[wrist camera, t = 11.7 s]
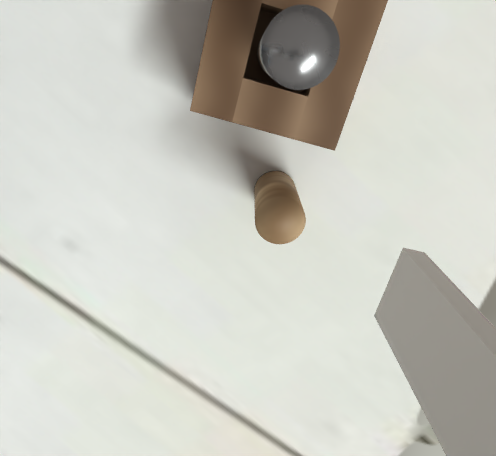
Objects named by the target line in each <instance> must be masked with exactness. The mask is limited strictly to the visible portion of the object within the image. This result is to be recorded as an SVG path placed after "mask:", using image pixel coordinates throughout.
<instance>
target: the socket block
mask: <svg viewBox="0 0 496 456" xmlns="http://www.w3.org/2000/svg"><path fill="white" fill-rule="evenodd" d="M387 1H388V0H213V2H212V7H211V12H210V17H209V21H208V26H207V31H206V36H205V41H204V46H203V51H202V55H201V60H200V65H199V70H198V75H197V80H196V84H195V89H194V94H193V99H192V104H191V109H190V111H193V112H197V113H200V114H204V115H208V116H211V117H215V118H219V119H222V120H226V121H229V122H233V123H237V124H240V125H244V126H248V127H251V128H255V129H258V130H262V131H266V132H269V133H273V134H277V135H280V136H284V137H287V138H291V139H295V140H298V141H302V142H306V143H309V144H313V145H316V146H320V147H324V148H327V149H331V150H335V148H336V146H337V143H338V140H339V137H340V134H341V131H342V129H343V126H344V123H345V120H346V117H347V115H348V112H349V109H350V106H351V103H352V100H353V98H354V95H355V92H356V89H357V86H358V83H359V81H360V78H361V75H362V72H363V69H364V66H365V64H366V61H367V58H368V55H369V52H370V50H371V47H372V44H373V41H374V38H375V35H376V33H377V30H378V27H379V24H380V21H381V18H382V16H383V13H384V10H385V7H386V4H387ZM302 4H304V5H311V6H314V7H317V8H319V9H321V10H322V11H324V12H325V13H326V14H327V15H328V16H329V17H330V18H331V19H332V21H333V22H334V24H335V26H336V28H337V31H338V34H339V40H340V50H339V56H338V60H337V62H336V65H335V67H334V69H333V70H332V72H331V73H330V75H329V76H328V77H327V78H326V79H325V80H324V81H322V82H321V83H320V84H318V85H316V86H314V87H312V88H309V89H304V90H294V89H289V88H286V87H284V86H282V85H280V84H279V83H277V82H276V81H275V80H274V79H272V78H271V77H270V76H269V75H268V74H267V73H266V72H264V70H263V69H262V68H261V66H260V64H259V62H258V58H257V48H258V44H259V41H260V39H261V37H262V36H263V34H264V32H265V30H266V29H267V27H268V25H269V24H270V22H271V21H272V19H273V18H274V17H275V16H276V15H277V14H278V13H280V12H281V11H282V10H284V9H286V8H288V7H291V6H295V5H302Z"/></svg>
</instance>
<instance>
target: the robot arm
mask: <svg viewBox="0 0 496 456" xmlns="http://www.w3.org/2000/svg"><path fill="white" fill-rule="evenodd" d="M374 316H375V318H376V320H377V322H378V324H379V326H380V328H381V330H382V332H383V334H384V336H385V338H386V340H387V341H388V343H389V345H390V347H391V349H392V351H393V353H394V355H395V357H396V359H397V361H398V363H399V365H400V367H401V369H402V371H403V373H404V375H405V376H406V378H407V380H408V382H409V384H410V386H411V388H412V390H413V392H414V394H415V396H416V398H417V400H418V402H419V404H420V406H421V408H422V410H423V411H424V413H425V415H426V417H427V419H428V421H429V423H430V425H431V427H432V429H433V431H434V433H435V435H436V437H437V439H438V441H439V443H440V444H441V446H442V448H443V450H444V452H445V454H446V456H496V328H495V327H494V326H493V325H492V324H491V322H490V321H489V320H488V319H487V318H486V317H485V316H484V315H483V314H482V313H481V312H480V311H479V310H478V309H477V308H476V307H475V306H474V304H473V303H472V302H471V301H470V300H469V299H468V298H467V297H466V296H465V295H464V294H463V293H462V292H461V291H460V290H459V289H458V288H457V286H456V285H455V284H454V283H453V282H452V281H451V280H450V279H449V278H448V277H447V276H446V275H445V274H444V273H443V272H442V271H441V270H440V268H439V267H438V266H437V265H436V264H435V263H434V262H433V261H432V260H431V259H430V258H429V257H428V256H427V255H426V254H425V253H424V252H420V251H415V250H411V249H406V248H403V249H402V251H401V254H400V256H399V259H398V261H397V263H396V266H395V268H394V270H393V273H392V275H391V277H390V280H389V282H388V284H387V287H386V289H385V292H384V294H383V296H382V299H381V301H380V303H379V306H378V308H377V310H376V313H375V315H374Z"/></svg>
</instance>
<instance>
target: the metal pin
mask: <svg viewBox="0 0 496 456" xmlns="http://www.w3.org/2000/svg"><path fill="white" fill-rule="evenodd" d="M339 50H340V40H339V34H338V31H337V28H336V26H335V24H334V22H333V21H332V19H331V18H330V17H329V16H328V15H327V14H326V13H325V12H324V11H322V10H321V9H319V8H317V7H314V6H311V5H304V4H302V5H295V6H291V7H288V8H286V9H284V10H282V11H281V12H280V13H278V14H277V15H276V16H275V17H274V18H273V19H272V21H271V22H270V24H269V25H268V27H267V29H266V30H265V32H264V34H263V36H262V37H261V39H260V41H259V44H258V48H257V58H258V62H259V64H260V66H261V68H262V69H263V70H264V72H266V73H267V74H268V75H269V76H270V77H271V78H272V79H274V80H275V81H276V82H277V83H279V84H280V85H282V86H284V87H286V88H289V89H294V90H304V89H309V88H312V87H314V86H316V85H318V84H320V83H321V82H322V81H324V80H325V79H326V78H327V77H328V76H329V75H330V73H331V72H332V70H333V69H334V67H335V65H336V62H337V60H338V56H339Z"/></svg>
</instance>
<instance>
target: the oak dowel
mask: <svg viewBox="0 0 496 456" xmlns="http://www.w3.org/2000/svg"><path fill="white" fill-rule="evenodd" d="M254 194H255V225H256V229H257V231H258V233H259V234H260V236H261V237H262V238H263V239H265V240H266V241H268V242H271V243H274V244H285V243H289V242H291V241H293V240H295V239H296V238H297V237H298V236H299V235H300V234H301V233H302V231H303V229H304V227H305V222H306V218H305V213H304V210H303V207H302V205H301V202H300V199H299V196H298V193H297V190H296V187H295V184H294V182H293V180H292V179H291V178H290V177H289V176H288V175H287V174H285V173H283V172H280V171H271V172H268V173H265V174H264V175H262V176H261V177H260V178H259V179H258V181H257V183H256V185H255V190H254Z"/></svg>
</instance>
